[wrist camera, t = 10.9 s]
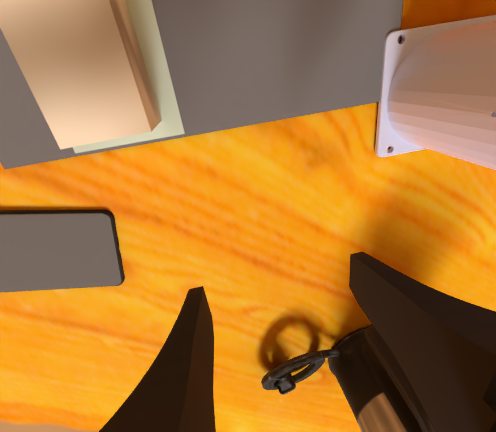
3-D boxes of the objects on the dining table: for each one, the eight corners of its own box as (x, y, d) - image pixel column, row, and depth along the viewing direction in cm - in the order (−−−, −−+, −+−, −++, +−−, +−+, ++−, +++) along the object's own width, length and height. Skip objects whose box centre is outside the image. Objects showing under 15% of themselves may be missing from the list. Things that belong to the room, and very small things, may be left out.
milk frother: (409, 353, 34) (540, 526, 21) (300, 408, 36) (356, 598, 23) (375, 283, 28) (531, 471, 14) (243, 355, 29) (276, 578, 16)
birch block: (161, 120, 17) (151, 131, 14) (89, 134, 17) (60, 149, 13) (111, -48, 13) (79, -91, 10) (18, -33, 13) (-50, -73, 10)
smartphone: (124, 286, 23) (-94, 299, 20) (127, 279, 23) (-82, 290, 21) (111, 211, 20) (-148, 214, 17) (114, 206, 20) (-133, 208, 18)
